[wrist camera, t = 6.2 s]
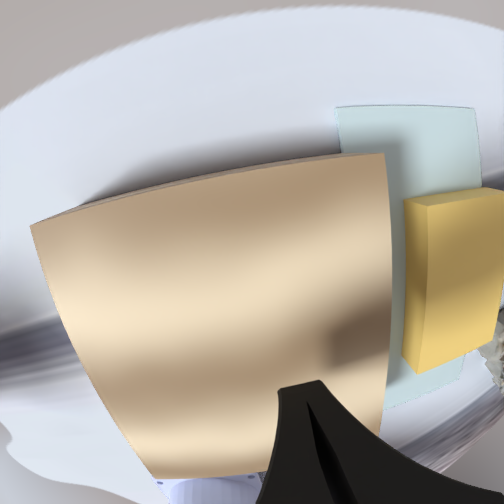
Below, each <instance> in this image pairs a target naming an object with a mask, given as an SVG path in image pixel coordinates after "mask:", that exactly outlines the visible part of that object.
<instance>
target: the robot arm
mask: <svg viewBox="0 0 504 504" xmlns="http://www.w3.org/2000/svg"><path fill="white" fill-rule="evenodd" d="M277 394H278V422H277V428H276V435H275V441H274V446H273V450H272V454H271V458H270V462H269V466H268V470H267V473H266V476H265V479H264V482H263V485H262V483H261V480H260V477H259V474H258V472H256V473H249V474H241V475H233V476H223V477H211V478H195V479H155V478H154V477H153V476H151V479H152V480H153V482H154V483H155V484H156V485H157V486H158V488H159V489H160V490H161V491H162V492H163V494H164V495H165V496H166V497H167V498H168V499H169V504H504V495H503V494H502V493H500V492H495V491H491V490H486V489H482V488H478V487H475V486H471V485H468V484H465V483H462V482H459V481H456V480H454V479H451V478H448V477H446V476H444V475H442V474H439V473H437V472H435V471H433V470H431V469H429V468H426V467H424V466H422V465H420V464H419V463H417V462H415V461H413V460H412V459H410V458H408V457H406V456H405V455H403V454H402V453H400V452H398V451H397V450H395V449H394V448H392V447H391V446H390V445H388V444H387V443H385V442H384V441H383V440H381V439H380V438H379V437H378V436H376V435H375V434H374V433H373V432H371V431H370V430H369V429H368V428H366V427H365V426H364V425H363V424H362V423H361V422H360V421H359V420H358V419H356V418H355V417H354V416H353V415H352V414H351V413H350V412H349V411H348V410H347V409H346V408H345V407H344V406H343V405H342V404H341V403H340V402H339V401H338V400H337V398H336V397H335V396H334V395H333V394H332V393H331V392H330V390H329V389H328V388H327V387H326V385H325V384H324V383H323V381H321V380H319V379H318V380H314V381H310V382H306V383H301V384H297V385H292V386H288V387H283V388H280V389H279V390H278V391H277Z"/></svg>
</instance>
